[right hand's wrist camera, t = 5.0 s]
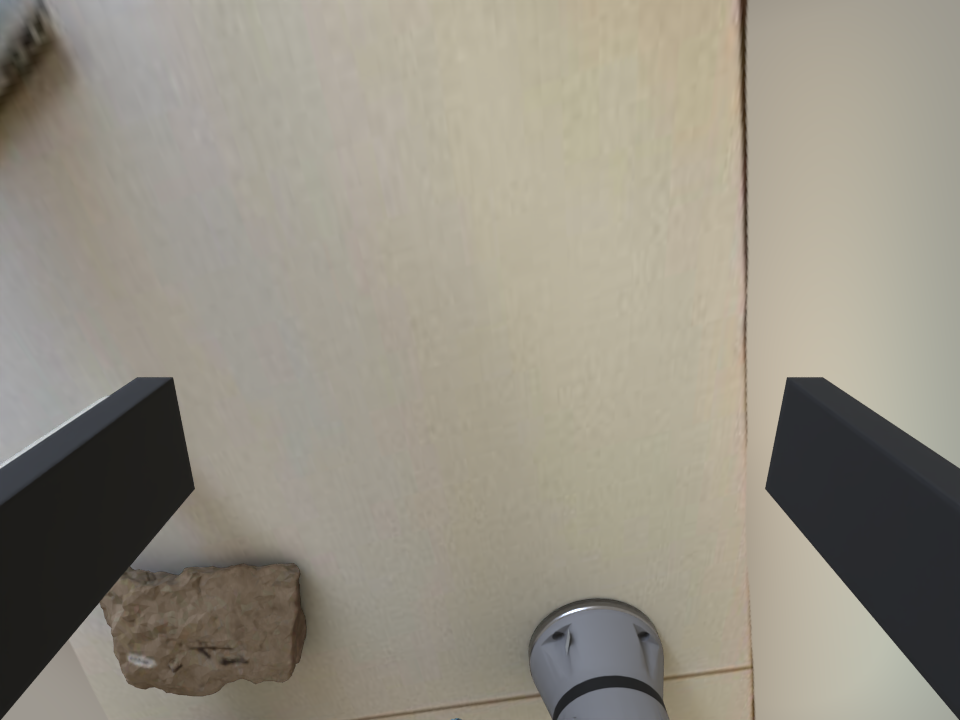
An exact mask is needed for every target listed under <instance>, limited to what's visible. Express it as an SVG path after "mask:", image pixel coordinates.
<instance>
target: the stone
mask: <svg viewBox="0 0 960 720" xmlns="http://www.w3.org/2000/svg"><path fill="white" fill-rule="evenodd" d="M299 576H300V571H299V568H298V567H297V565H296V564H294V563H290V564H279V563H278V564H272V565H265V566H261V567H256V566H248V565H246V564H239V565H235V566H233V565H232V566H230V567H227V568H217V567H214V566H212V567H187V568H185V569H184V570H183V572H182V573H181V574H180V575H173V574H170V573H167V572H156V573H153V572H150V571H144V570H140V569H139V570H134V569H132V568H131V567H129V568H128V569H127V570H126V571H125V572H124V574H123V575H122V576H121V577H120V578H119V580H118V581H117V582H116V583H115V584H114V586H113V587H112V588H111V589H110V590H109V592H108V593H107V594H106V595H105V596H104V597H103V599H102V600H101V601H100V605H101V608H102V609H103V611H104V616H105V619H106V621H107V624H108V625H109V626H110V627H111V628H112V629H111V634H112V636H113V642H114V653H115V656H116V657H117V659H118V660H119V663H120V667H121V670H122V673H123V674H124V676H125V678H126V681H127V682H128V683H129V684H131V685H133V686H134V687H137V688H140V689H148V688H150V687H156V688H158V689H162V690H164V691H165V692H166V693H173V694H178V695H188V696H206V695H210V694H214V693H216V692H217V691H219V690H220V689H221V688H222V687H223V686H224V685H225V684H227V683H229V682H234V681H236V680H238V679H246V680H248V681H251V682H253V683H254V684H257V683H260V682H263V681H276V682H284V681H286V680H288V679H289V678H290V677H291V676H292V673H293V672H294V669H295V666H296V664H297V663H299V661H300V658H301V653H302V648H303V644H304V640H305V638H306V620H305V616H304V613H303V611H302V609H301V598H300V586H299V582H298V579H299Z"/></svg>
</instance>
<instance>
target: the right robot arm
mask: <svg viewBox="0 0 960 720" xmlns="http://www.w3.org/2000/svg"><path fill="white" fill-rule="evenodd" d="M194 489H195V487H194V482H193V477H192V472H191V467H190V462H189V457H188V452H187V447H186V441H185V436H184V431H183V426H182V421H181V416H180V411H179V406H178V401H177V396H176V390H175V385H174V380H173V377H137V378H136V379H134V380H133V381H131V382H130V383H128V384H127V385H125V386H124V387H122V388H121V389H119V390H118V391H116V392H115V393H113V394H112V395H110V396H109V397H107V398H106V399H104V400H102V401H101V402H99V403H98V404H96V405H95V406H93V407H92V408H90V409H89V410H87V411H86V412H84V413H83V414H81V415H80V416H78V417H77V418H75V419H74V420H72V421H71V422H69V423H68V424H66V425H65V426H63V427H62V428H60V429H59V430H57V431H56V432H54V433H53V434H51V435H50V436H48V437H47V438H45V439H44V440H42V441H41V442H39V443H38V444H36V445H35V446H33V447H32V448H30V449H29V450H27V451H26V452H24V453H23V454H21V455H20V456H18V457H17V458H15V459H14V460H12V461H11V462H9V463H8V464H6V465H5V466H3V467H2V468H0V720H1V719H2V718H3V717H4V715H5V714H6V713H7V712H8V711H9V709H10V708H11V707H12V706H13V705H14V703H15V702H16V701H17V700H18V699H19V698H20V696H21V695H22V694H23V693H24V692H25V690H26V689H27V688H28V687H29V686H30V684H31V683H32V682H33V681H34V680H35V678H36V677H37V676H38V675H39V674H40V672H41V671H42V670H43V669H44V668H45V666H46V665H47V664H48V663H49V662H50V661H51V659H52V658H53V657H54V656H55V655H56V653H57V652H58V651H59V650H60V649H61V647H62V646H63V645H64V644H65V643H66V642H67V640H68V639H69V638H70V637H71V636H72V634H73V633H74V632H75V631H76V630H77V628H78V627H79V626H80V625H81V624H82V622H83V621H84V620H85V619H86V618H87V617H88V615H89V614H90V613H91V612H92V611H93V609H94V608H95V607H96V606H97V605H98V603H99V602H100V601H101V600H102V599H103V597H104V596H105V595H106V594H107V593H108V592H109V590H110V589H111V588H112V587H113V586H114V584H115V583H116V582H117V581H118V580H119V578H120V577H121V576H122V575H123V574H124V572H125V571H126V570H127V569H128V568H129V567H130V565H131V564H132V563H133V562H134V561H135V559H136V558H137V557H138V556H139V555H140V553H141V552H142V551H143V550H144V549H145V547H146V546H147V545H148V544H149V543H150V542H151V540H152V539H153V538H154V537H155V536H156V534H157V533H158V532H159V531H160V530H161V528H162V527H163V526H164V525H165V524H166V522H167V521H168V520H169V519H170V518H171V516H172V515H173V514H174V513H175V512H176V511H177V509H178V508H179V507H180V506H181V505H182V503H183V502H184V501H185V500H186V499H187V497H188V496H189V495H190V494H191V493H192V491H193V490H194ZM765 489H766V490H767V491H768V493H769V494H770V495H771V496H772V497H773V499H774V500H775V501H776V502H777V503H778V505H779V506H780V507H781V508H782V509H783V510H784V512H785V513H786V514H787V515H788V516H789V518H790V519H791V520H792V521H793V522H794V524H795V525H796V526H797V527H798V528H799V530H800V531H801V532H802V533H803V534H804V536H805V537H806V538H807V539H808V540H809V542H810V543H811V544H812V545H813V546H814V547H815V549H816V550H817V551H818V552H819V553H820V555H821V556H822V557H823V558H824V559H825V561H826V562H827V563H828V564H829V565H830V566H831V568H832V569H833V570H834V571H835V572H836V574H837V575H838V576H839V577H840V578H841V580H842V581H843V582H844V583H845V584H846V586H847V587H848V588H849V589H850V590H851V592H852V593H853V594H854V595H855V596H856V597H857V599H858V600H859V601H860V602H861V603H862V605H863V606H864V607H865V608H866V609H867V611H868V612H869V613H870V614H871V615H872V617H873V618H874V619H875V620H876V621H877V622H878V624H879V625H880V626H881V627H882V628H883V630H884V631H885V632H886V633H887V634H888V635H889V637H890V638H891V639H892V640H893V642H894V643H895V644H896V645H897V646H898V648H899V649H900V650H901V651H902V652H903V653H904V655H905V656H906V657H907V658H908V659H909V661H910V662H911V663H912V664H913V665H914V667H915V668H916V669H917V670H918V671H919V673H920V674H921V675H922V676H923V677H924V678H925V680H926V681H927V682H928V683H929V684H930V686H931V687H932V688H933V689H934V690H935V692H936V693H937V694H938V695H939V696H940V698H941V699H942V700H943V701H944V702H945V703H946V705H947V706H948V707H949V708H950V709H951V711H952V712H953V713H954V714H955V715H956V717H957V718H958V719H959V720H960V468H958V467H957V466H955V465H954V464H952V463H951V462H949V461H948V460H946V459H945V458H943V457H942V456H940V455H939V454H937V453H936V452H934V451H933V450H931V449H930V448H928V447H927V446H925V445H924V444H922V443H921V442H919V441H918V440H916V439H915V438H913V437H912V436H910V435H909V434H907V433H906V432H904V431H903V430H901V429H900V428H898V427H897V426H895V425H893V424H892V423H890V422H889V421H887V420H886V419H885V418H883V417H882V416H880V415H879V414H877V413H876V412H874V411H873V410H871V409H870V408H868V407H867V406H865V405H863V404H862V403H860V402H859V401H857V400H856V399H854V398H853V397H851V396H850V395H848V394H847V393H845V392H844V391H842V390H841V389H839V388H838V387H836V386H835V385H833V384H832V383H830V382H829V381H827V380H826V379H824V378H823V377H787V380H786V385H785V390H784V396H783V401H782V406H781V411H780V416H779V421H778V426H777V431H776V436H775V442H774V447H773V452H772V457H771V462H770V467H769V472H768V477H767V482H766V487H765ZM529 663H530V671H531V675H532V677H533V680H534V683H535V685H536V687H537V689H538V691H539V693H540V695H541V697H542V699H543V701H544V703H545V705H546V707H547V709H548V711H549V713H550V715H551V717H552V719H553V720H669V717H668V714H667V711H666V708H665V705H664V702H663V677H664V656H663V648H662V644H661V641H660V639H659V636H658V633H657V631H656V629H655V627H654V625H653V623H652V622H651V621H650V620H649V618H648V617H647V616H646V615H645V614H643V613H642V612H641V611H639V610H638V609H636V608H634V607H632V606H630V605H628V604H626V603H623V602H619V601H615V600H609V599H588V600H582V601H577V602H574V603H571V604H568V605H565V606H563V607H561V608H559V609H557V610H556V611H554V612H553V613H551V614H550V615H548V616H547V617H546V618H545V619H544V620H543V621H542V622H541V623H540V624H539V625H538V627H537V628H536V630H535V631H534V633H533V635H532V638H531V640H530V644H529ZM451 720H461V719H459V718H455V719H451Z"/></svg>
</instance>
